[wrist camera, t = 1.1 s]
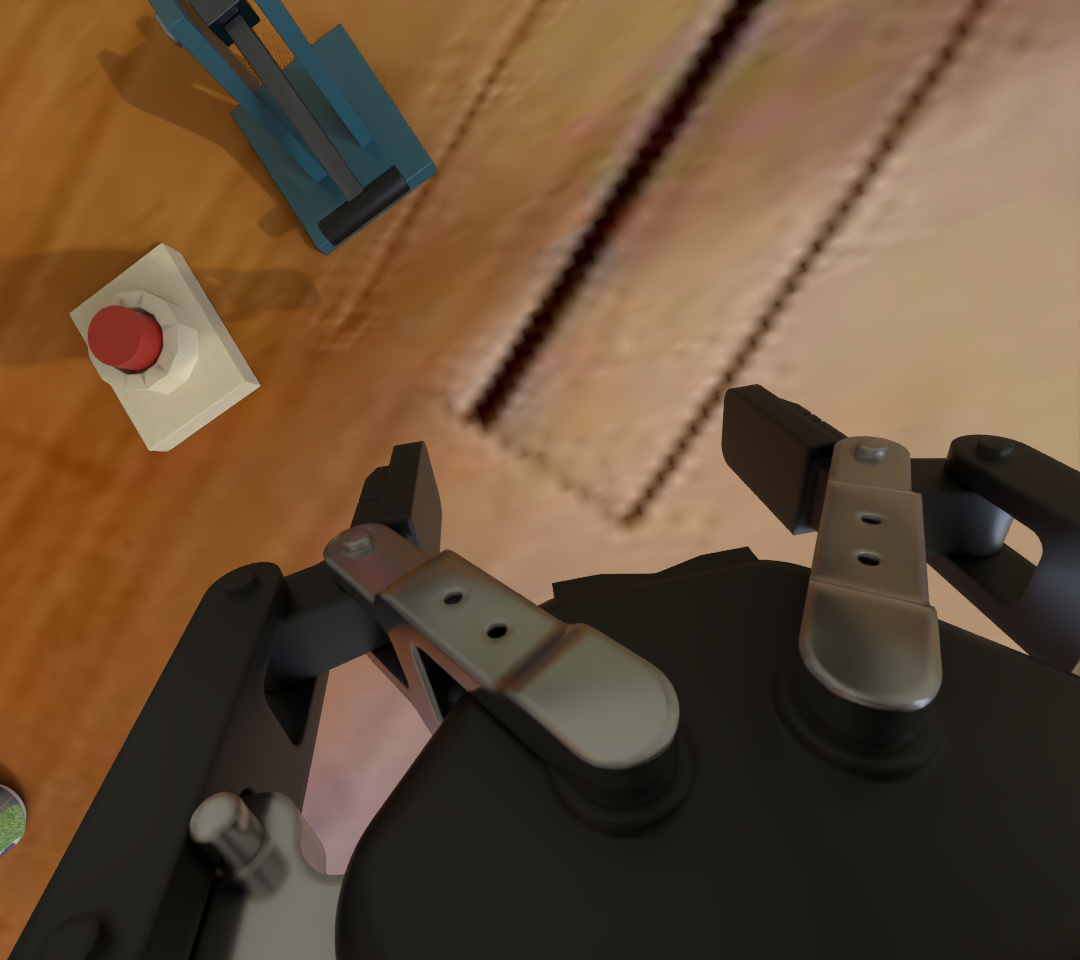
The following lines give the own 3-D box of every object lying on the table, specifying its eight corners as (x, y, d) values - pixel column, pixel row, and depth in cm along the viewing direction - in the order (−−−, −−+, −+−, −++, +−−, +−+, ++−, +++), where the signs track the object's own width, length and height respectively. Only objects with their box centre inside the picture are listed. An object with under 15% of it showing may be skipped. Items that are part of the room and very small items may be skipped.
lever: (413, 192, 30) (408, 185, 28) (339, 247, 31) (329, 245, 29) (244, -62, 26) (223, -94, 23) (161, 9, 26) (132, -16, 24)
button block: (90, 320, 40) (41, 305, 36) (180, 252, 39) (139, 230, 35) (168, 451, 39) (125, 449, 36) (261, 385, 38) (227, 377, 35)
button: (101, 334, 36) (76, 327, 34) (145, 301, 36) (122, 292, 34) (130, 382, 36) (106, 377, 34) (174, 349, 35) (152, 343, 34)
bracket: (438, 171, 36) (340, -12, 23) (326, 256, 37) (167, 129, 24) (348, 37, 37) (200, -221, 23) (240, 123, 38) (38, -74, 24)
